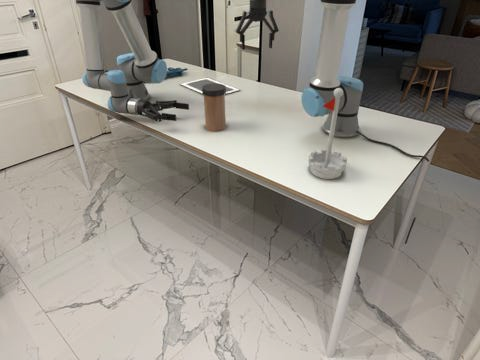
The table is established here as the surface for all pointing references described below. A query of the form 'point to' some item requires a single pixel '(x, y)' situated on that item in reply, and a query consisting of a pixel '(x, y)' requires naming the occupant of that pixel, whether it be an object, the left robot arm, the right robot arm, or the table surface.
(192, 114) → the table surface
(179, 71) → the submachine gun
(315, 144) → the table surface
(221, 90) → the lid
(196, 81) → the tablet
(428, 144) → the table surface
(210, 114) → the jar
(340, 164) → the flag stand
